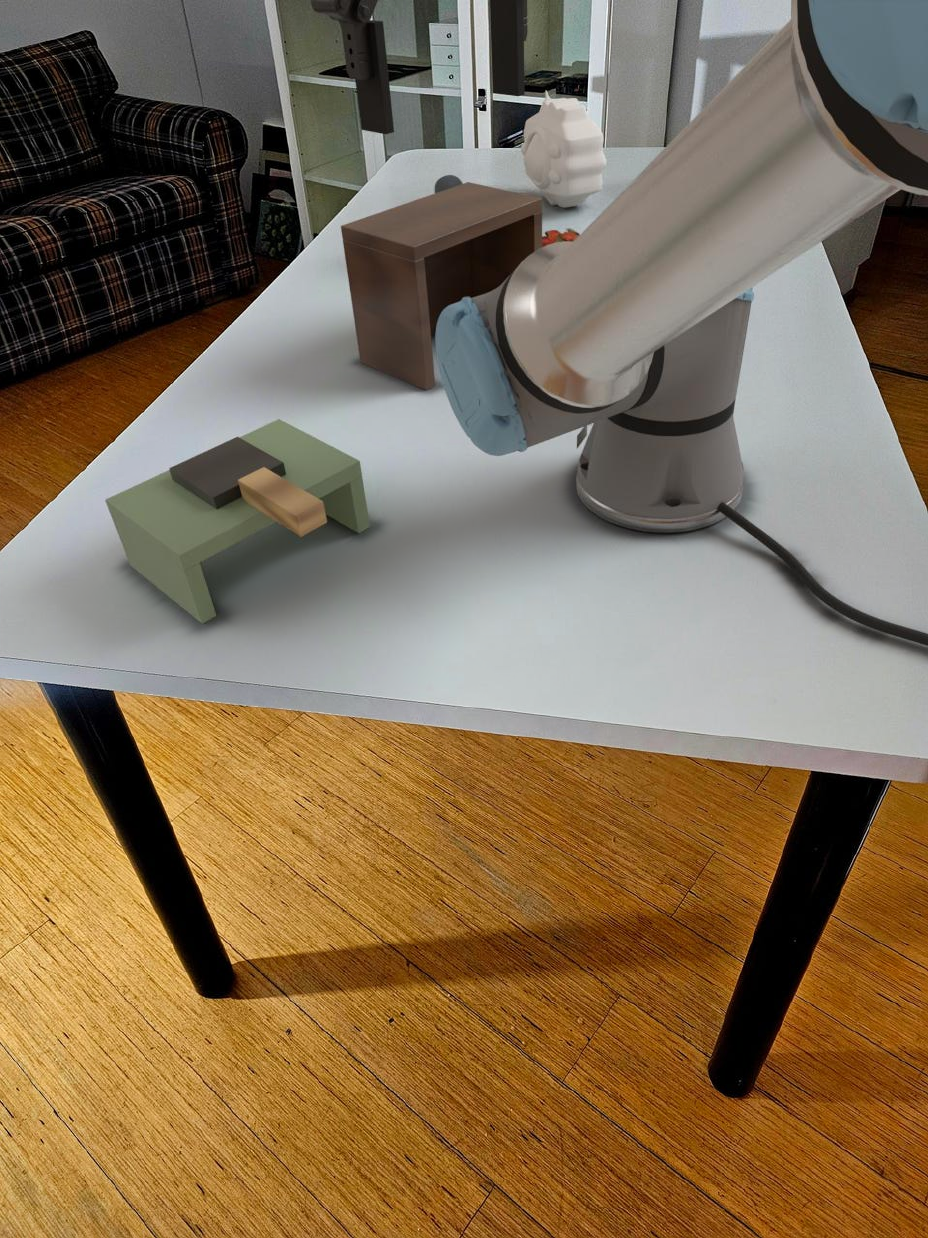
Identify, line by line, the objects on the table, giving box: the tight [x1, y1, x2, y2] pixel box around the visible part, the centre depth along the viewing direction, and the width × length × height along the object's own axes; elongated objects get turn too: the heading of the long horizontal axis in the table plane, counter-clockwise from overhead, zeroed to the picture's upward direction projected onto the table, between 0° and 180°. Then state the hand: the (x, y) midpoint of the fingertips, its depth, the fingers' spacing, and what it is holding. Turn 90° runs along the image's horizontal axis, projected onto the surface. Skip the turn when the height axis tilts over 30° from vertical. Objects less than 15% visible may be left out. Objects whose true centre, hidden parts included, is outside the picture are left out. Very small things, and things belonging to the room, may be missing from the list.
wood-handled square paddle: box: [168, 436, 328, 538], centre depth 73 cm, size 16×7×2 cm, turn 45°
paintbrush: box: [434, 174, 464, 194], centre depth 149 cm, size 20×5×5 cm, turn 38°
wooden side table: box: [340, 181, 543, 391], centre depth 105 cm, size 12×20×16 cm, turn 135°
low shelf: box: [104, 418, 371, 625], centre depth 78 cm, size 12×18×7 cm, turn 135°
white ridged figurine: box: [520, 90, 607, 208], centre depth 146 cm, size 11×18×16 cm, turn 21°
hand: (446, 111), depth 66 cm, fingers open, 13 cm apart
